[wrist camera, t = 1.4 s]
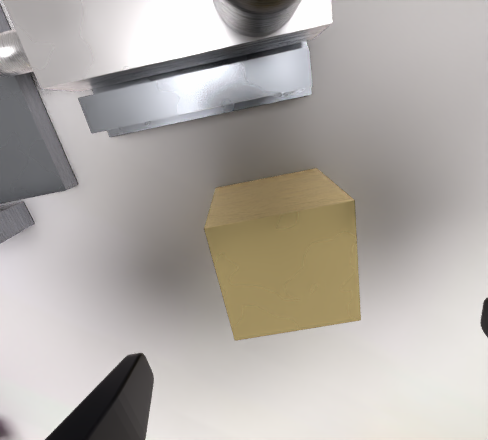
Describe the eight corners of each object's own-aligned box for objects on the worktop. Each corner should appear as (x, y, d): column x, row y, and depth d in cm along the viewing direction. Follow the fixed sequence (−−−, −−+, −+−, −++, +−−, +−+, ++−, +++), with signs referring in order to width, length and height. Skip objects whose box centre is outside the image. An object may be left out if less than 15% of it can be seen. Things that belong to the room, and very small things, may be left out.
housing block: (319, 166, 14) (359, 199, 9) (327, 255, 16) (364, 319, 11) (215, 187, 14) (204, 228, 10) (236, 271, 16) (234, 340, 11)
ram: (304, -54, 9) (447, -394, 3) (312, 39, 10) (432, -62, 4) (-30, 28, 10) (-501, -102, 4) (8, 107, 11) (-309, 114, 5)
